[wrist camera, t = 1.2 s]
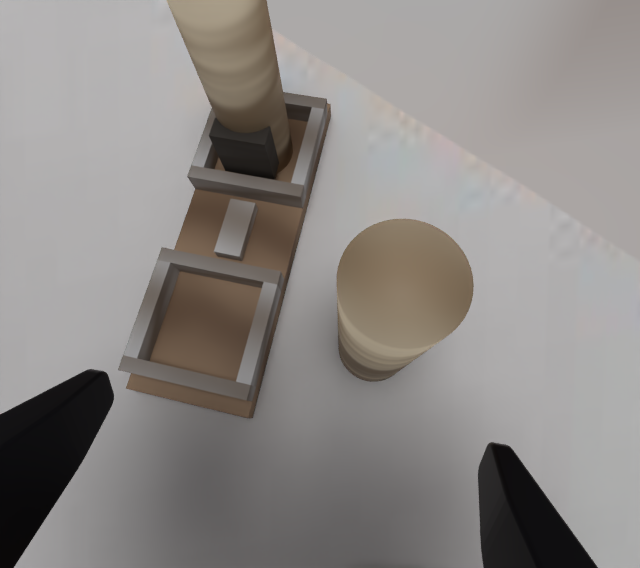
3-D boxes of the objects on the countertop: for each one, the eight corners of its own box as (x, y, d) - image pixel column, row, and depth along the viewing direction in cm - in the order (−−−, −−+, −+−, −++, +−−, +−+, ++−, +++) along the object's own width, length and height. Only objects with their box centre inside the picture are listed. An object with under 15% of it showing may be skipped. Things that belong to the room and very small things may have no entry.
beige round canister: (400, 388, 24) (464, 361, 12) (332, 373, 24) (323, 331, 12) (412, 313, 25) (482, 217, 13) (347, 300, 26) (354, 194, 13)
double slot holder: (252, 417, 24) (241, 418, 21) (135, 389, 25) (111, 386, 22) (330, 115, 30) (329, 87, 27) (234, 100, 30) (224, 72, 28)
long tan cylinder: (282, 189, 27) (232, -5, 14) (223, 178, 27) (125, -19, 15) (299, 130, 28) (266, -94, 16) (242, 121, 28) (166, -104, 16)
